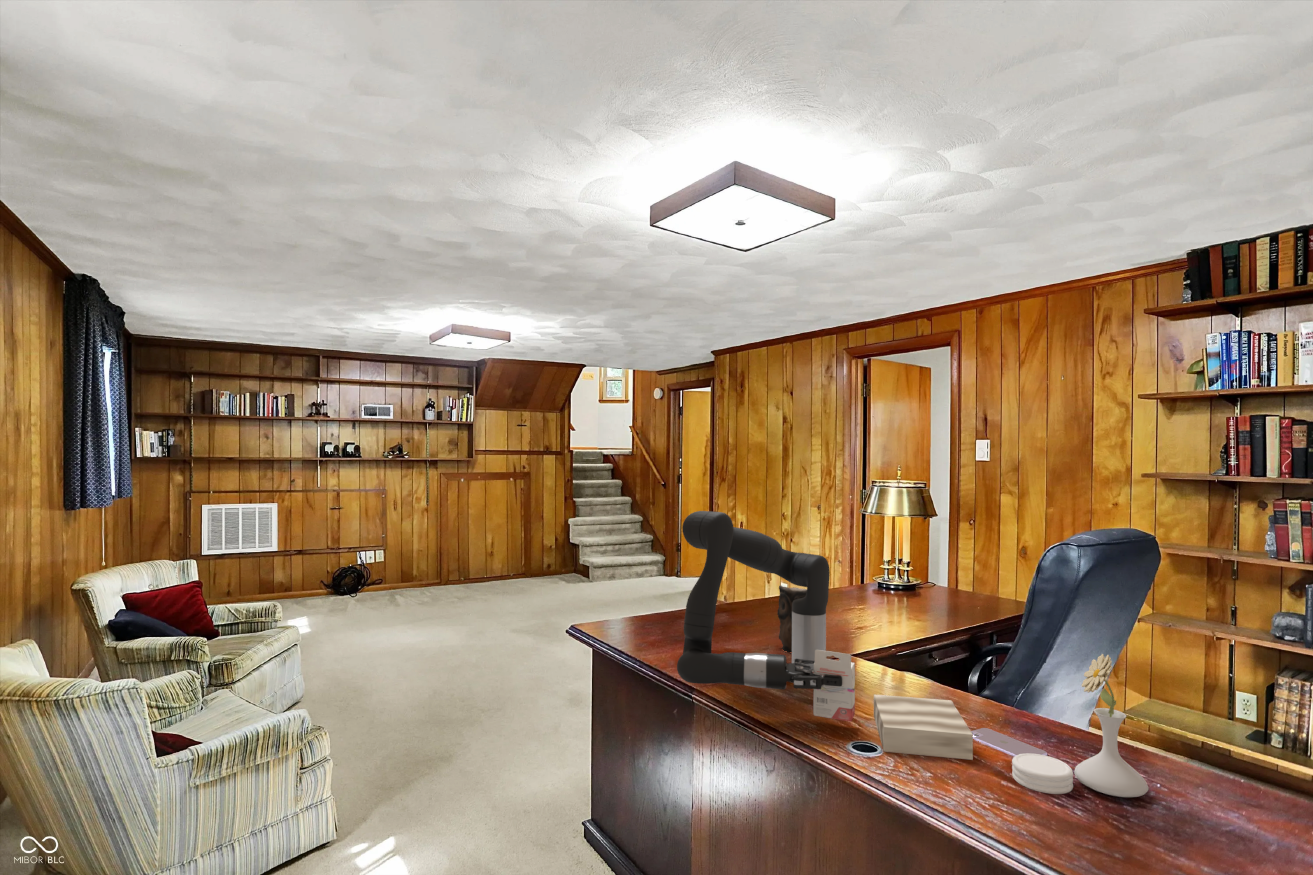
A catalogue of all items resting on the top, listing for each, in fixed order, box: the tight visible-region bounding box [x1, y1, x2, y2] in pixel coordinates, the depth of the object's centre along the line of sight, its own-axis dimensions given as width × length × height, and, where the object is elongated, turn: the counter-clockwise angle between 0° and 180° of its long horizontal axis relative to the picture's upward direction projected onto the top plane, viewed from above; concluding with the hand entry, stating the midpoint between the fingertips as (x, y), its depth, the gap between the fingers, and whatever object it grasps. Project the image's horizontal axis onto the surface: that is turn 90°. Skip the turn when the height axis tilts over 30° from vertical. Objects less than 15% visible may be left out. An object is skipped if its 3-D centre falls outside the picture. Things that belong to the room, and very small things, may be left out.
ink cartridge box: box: [812, 650, 856, 723], centre depth 155 cm, size 9×5×15 cm, turn 65°
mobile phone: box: [970, 727, 1048, 758], centre depth 146 cm, size 8×1×15 cm
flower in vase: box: [1073, 653, 1149, 798], centre depth 127 cm, size 13×11×25 cm
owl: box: [776, 584, 807, 652], centre depth 215 cm, size 13×13×20 cm
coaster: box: [1011, 753, 1074, 795], centre depth 129 cm, size 10×10×4 cm
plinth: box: [873, 694, 974, 761], centre depth 150 cm, size 20×17×5 cm
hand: (840, 676), depth 155 cm, fingers closed on ink cartridge box, 6 cm apart
